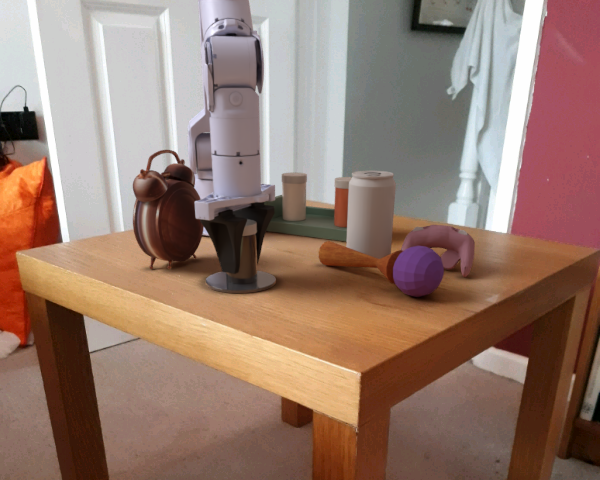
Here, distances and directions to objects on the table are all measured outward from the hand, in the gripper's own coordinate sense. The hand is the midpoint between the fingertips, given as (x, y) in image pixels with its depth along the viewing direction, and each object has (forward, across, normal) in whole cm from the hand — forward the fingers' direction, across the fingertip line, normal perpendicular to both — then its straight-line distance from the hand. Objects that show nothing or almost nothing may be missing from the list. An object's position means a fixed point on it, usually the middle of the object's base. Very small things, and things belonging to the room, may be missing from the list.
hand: (240, 267), depth 80 cm
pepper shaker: (+2, 0, 0) cm, 2 cm away
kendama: (+2, +9, -15) cm, 18 cm away
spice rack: (+2, +31, +4) cm, 31 cm away
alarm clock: (+2, +2, +13) cm, 13 cm away
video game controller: (+2, +18, -20) cm, 27 cm away
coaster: (+2, 0, 0) cm, 2 cm away
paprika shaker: (0, +30, -1) cm, 30 cm away
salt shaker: (0, +30, +9) cm, 31 cm away
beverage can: (+2, +18, -10) cm, 21 cm away
